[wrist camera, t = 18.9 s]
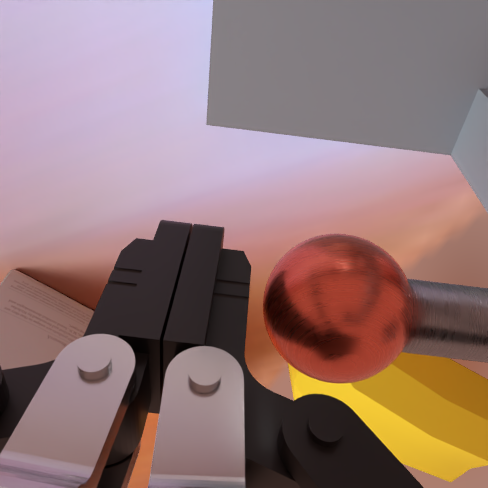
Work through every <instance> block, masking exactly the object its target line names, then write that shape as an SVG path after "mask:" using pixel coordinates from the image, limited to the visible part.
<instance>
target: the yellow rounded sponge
mask: <svg viewBox="0 0 488 488" xmlns="http://www.w3.org/2000/svg"><path fill="white" fill-rule="evenodd" d="M288 367H289V373H290V379H291V385H292V391H293V397H294V401H295V400H296V399H297V398H299V397H302V396H304V395H308V394H324V395H329V396H332V397H334V398H337V399H339V400H340V401H342V402H344V403H345V404H346V405H348V406H349V407H350V408H351V409H352V410H353V411H354V412H355V413H356V414H357V415H358V416H359V417H360V418H361V419H362V421H363V422H364V423H365V424H366V425H367V426H368V427H369V428H370V429H371V430H372V432H373V433H374V434H375V435H376V436H377V437H378V438H379V439H380V440H381V441H382V443H383V444H384V445H385V446H386V447H387V448H388V449H389V450H390V451H391V452H392V453H393V455H394V456H395V457H396V458H397V459H398V460H399V461H400V462H401V463H402V464H405V465H408V466H410V467H413V468H415V469H418V470H421V471H423V472H426V473H428V474H431V475H433V476H436V477H439V478H441V479H444V480H446V481H449V482H452V481H453V480H455V479H456V478H458V477H459V476H460V475H462V474H463V473H465V472H466V471H467V470H469V469H470V468H475V467H481V466H487V465H488V379H486V378H484V377H482V376H480V375H479V374H477V373H475V372H473V371H471V370H469V369H468V368H466V367H464V366H462V365H460V364H458V363H457V362H455V361H453V360H451V359H449V358H446V357H437V356H429V355H420V354H412V353H403V352H401V353H400V355H399V356H398V357H397V358H396V360H395V361H394V362H393V363H392V364H390V365H389V366H388V367H387V368H386V369H384V370H383V371H381V372H380V373H378V374H376V375H374V376H373V377H370V378H368V379H365V380H362V381H358V382H353V383H328V382H323V381H319V380H316V379H314V378H311V377H309V376H306V375H304V374H303V373H301V372H299V371H298V370H296V369H295V368H294V367H292V366H291V365H290V364H289V363H288Z"/></svg>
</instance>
